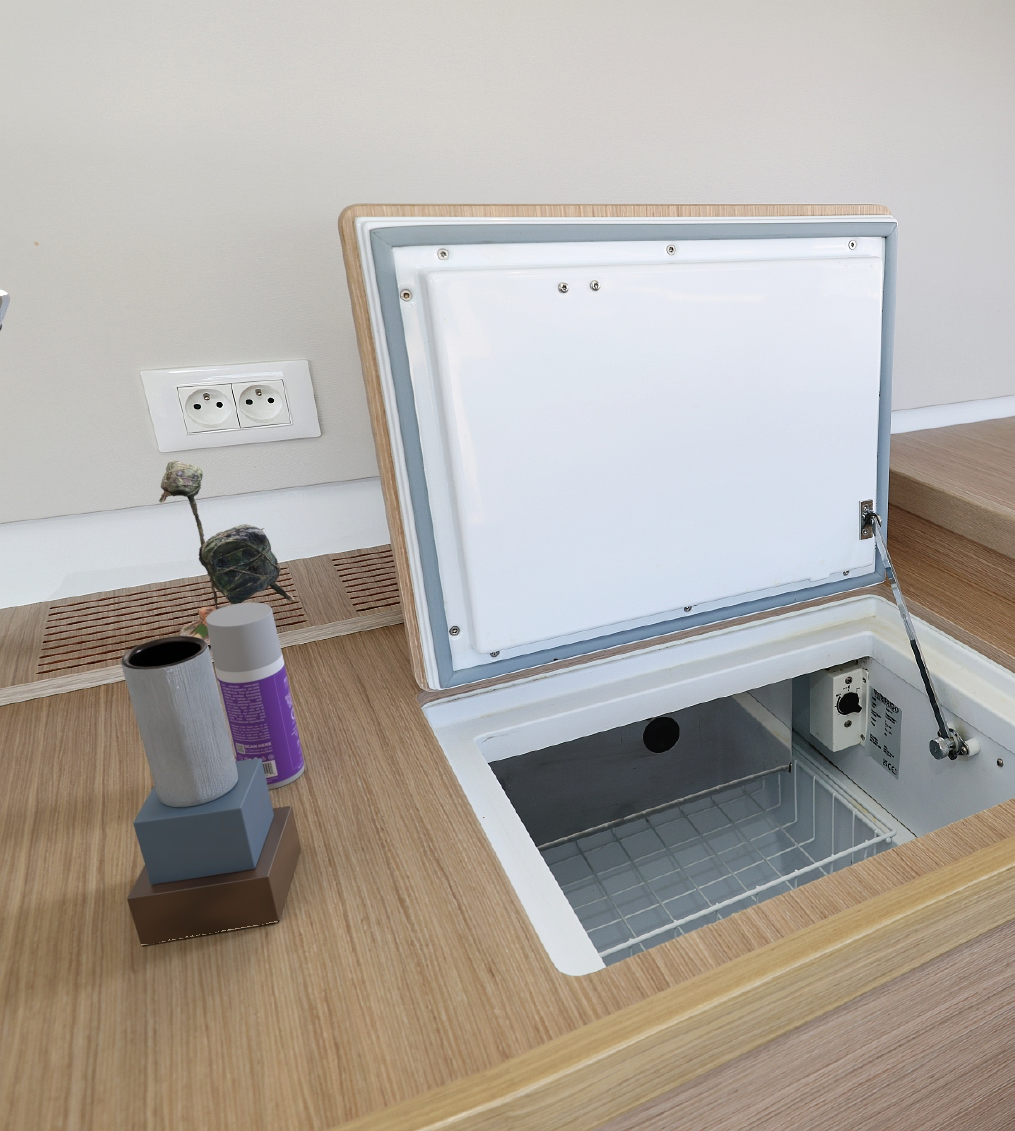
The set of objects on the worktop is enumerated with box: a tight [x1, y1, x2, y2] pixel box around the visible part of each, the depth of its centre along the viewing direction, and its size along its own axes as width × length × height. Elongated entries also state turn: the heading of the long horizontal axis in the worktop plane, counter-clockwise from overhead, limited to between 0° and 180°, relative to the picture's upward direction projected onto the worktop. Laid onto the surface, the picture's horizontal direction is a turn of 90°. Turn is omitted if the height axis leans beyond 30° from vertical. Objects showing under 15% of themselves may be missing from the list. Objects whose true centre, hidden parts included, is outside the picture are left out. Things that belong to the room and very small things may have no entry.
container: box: [206, 602, 306, 790], centre depth 77 cm, size 5×5×15 cm
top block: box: [132, 758, 274, 885], centre depth 64 cm, size 6×6×5 cm
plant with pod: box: [158, 460, 295, 646], centre depth 99 cm, size 8×11×20 cm
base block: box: [126, 805, 302, 945], centre depth 66 cm, size 8×8×4 cm
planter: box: [120, 635, 238, 807], centre depth 61 cm, size 4×4×10 cm
